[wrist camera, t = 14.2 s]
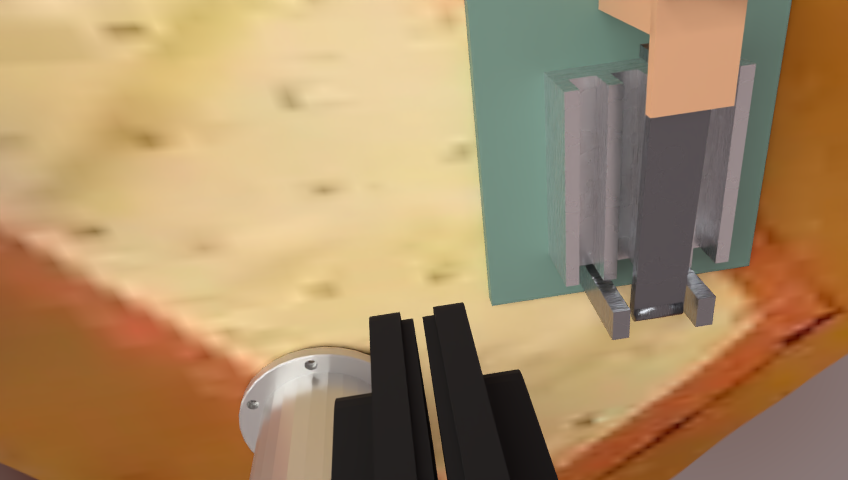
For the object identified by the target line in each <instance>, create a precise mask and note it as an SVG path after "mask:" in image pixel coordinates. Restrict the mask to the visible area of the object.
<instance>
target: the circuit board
mask: <svg viewBox="0 0 848 480" xmlns="http://www.w3.org/2000/svg"><path fill="white" fill-rule="evenodd" d="M464 1H465V13H466V25H467V36H468V48H469V60H470V72H471V84H472V96H473V108H474V120H475V132H476V144H477V156H478V168H479V180H480V192H481V203H482V215H483V227H484V239H485V251H486V263H487V275H488V287H489V298H490V301H491V304H492V306H494V305H500V304H507V303H513V302H520V301H526V300H533V299H539V298H545V297H552V296H558V295H565V294H571V293H577V292H584V289H583V288H582V286H581V284H580V282H579V285H575V286H568V287H566V285H565V284H564V282H563V280H562V278H561V276H560V274H559V272H558V270H557V268H556V267H555V265H554V263H553V261H552V259H551V257H550V255H549V253H548V215H547V176H546V137H545V99H544V72H549V71H556V70H563V69H569V68H576V67H583V66H590V65H597V64H603V63H610V62H617V61H624V60H631V59H637V58H640V57H639V51H640V44H646V43H649V40H650V35H649V34H647V33H645V32H643V31H641V30H639V29H637V28H635V27H633V26H631V25H629V24H627V23H625V22H623V21H621V20H619V19H617V18H615V17H613V16H611V15H609V14H607V13H605V12H603V11H601V10H599V9H598V7H599V0H464ZM791 1H792V0H748V2H747V10H746V17H745V25H744V33H743V41H742V49H741V56H740V57H742V58H744V59H746V60H749V61H751V62H753V63H756V69H755V76H754V83H753V90H752V97H751V105H750V112H749V119H748V126H747V133H746V140H745V147H744V154H743V161H742V168H741V175H740V182H739V189H738V197H737V204H736V211H735V218H734V225H733V232H732V239H731V246H730V253H729V260H728V262H722V263H716V264H715V263H714V262H713V261H712V260H711V258H710V257H709V256H708V255H707V254H706V253H705V252H704V251H703V250H702V249H701V248H700V247H698V248H693V255H692V265H691V267H690V268H691V269H692V270H693V271H694V273H695V274H699V273H706V272H712V271H719V270H725V269H731V268H738V267H744V266H749V262H750V256H751V250H752V244H753V237H754V231H755V225H756V219H757V212H758V206H759V200H760V194H761V188H762V181H763V175H764V169H765V163H766V157H767V150H768V144H769V138H770V132H771V126H772V119H773V113H774V107H775V101H776V95H777V88H778V82H779V76H780V70H781V64H782V57H783V51H784V45H785V39H786V32H787V26H788V20H789V14H790V8H791ZM632 276H633V264H632V262H631V261H630V260H629V258H627V259H621V260H617V279H613V280H611V281H612V282H613V284H614V286H615V287H616V286H622V285H629V284H632Z"/></svg>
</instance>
